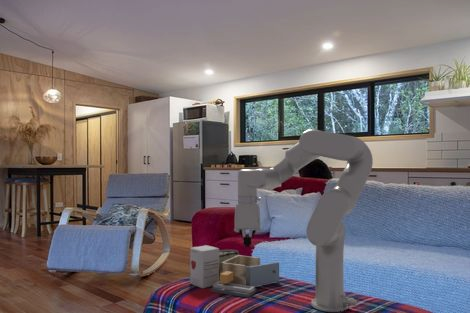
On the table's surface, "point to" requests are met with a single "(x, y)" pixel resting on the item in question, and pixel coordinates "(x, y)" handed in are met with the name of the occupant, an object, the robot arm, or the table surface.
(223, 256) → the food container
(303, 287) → the table surface
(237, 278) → the tan open box
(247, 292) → the fader board
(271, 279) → the door
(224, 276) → the fader knob
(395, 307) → the table surface
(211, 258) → the supplement box
